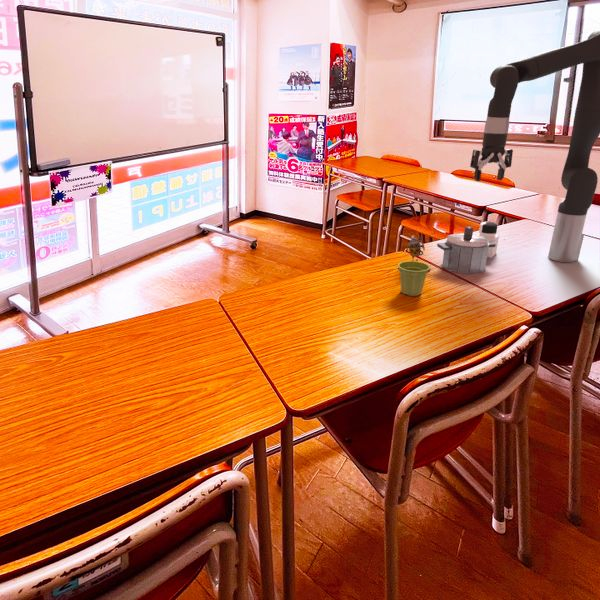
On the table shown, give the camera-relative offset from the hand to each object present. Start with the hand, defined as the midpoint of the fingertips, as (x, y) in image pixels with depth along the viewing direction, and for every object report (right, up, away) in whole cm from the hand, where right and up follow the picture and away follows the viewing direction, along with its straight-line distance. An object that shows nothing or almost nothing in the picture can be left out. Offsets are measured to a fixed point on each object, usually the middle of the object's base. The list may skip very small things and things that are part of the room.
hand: (488, 180), depth 176 cm
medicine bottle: (+4, -24, +15) cm, 29 cm away
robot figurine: (-26, -31, -1) cm, 40 cm away
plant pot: (-31, -39, -20) cm, 54 cm away
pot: (-8, -30, +2) cm, 31 cm away
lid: (-8, -21, -2) cm, 23 cm away
